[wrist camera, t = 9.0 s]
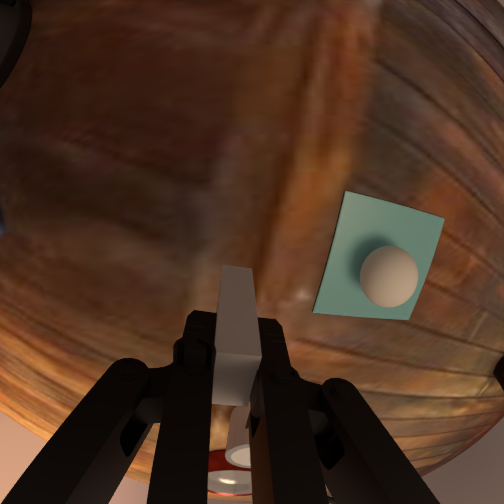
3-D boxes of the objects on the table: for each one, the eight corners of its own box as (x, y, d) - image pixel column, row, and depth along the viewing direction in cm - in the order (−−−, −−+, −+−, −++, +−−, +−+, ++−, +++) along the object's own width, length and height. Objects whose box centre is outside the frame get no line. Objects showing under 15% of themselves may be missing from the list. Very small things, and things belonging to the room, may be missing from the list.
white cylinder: (228, 397, 31) (226, 442, 25) (283, 399, 32) (290, 444, 25) (224, 426, 34) (223, 467, 27) (274, 428, 34) (278, 469, 28)
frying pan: (363, 464, 42) (370, 487, 36) (322, 488, 45) (326, 510, 39) (216, 440, 35) (214, 474, 29) (186, 467, 39) (182, 495, 33)
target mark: (344, 190, 23) (345, 190, 23) (443, 218, 24) (444, 218, 24) (312, 311, 27) (313, 312, 27) (407, 318, 28) (408, 319, 28)
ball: (372, 233, 26) (366, 245, 21) (423, 249, 24) (429, 266, 19) (357, 284, 28) (347, 306, 23) (405, 300, 25) (405, 325, 21)
